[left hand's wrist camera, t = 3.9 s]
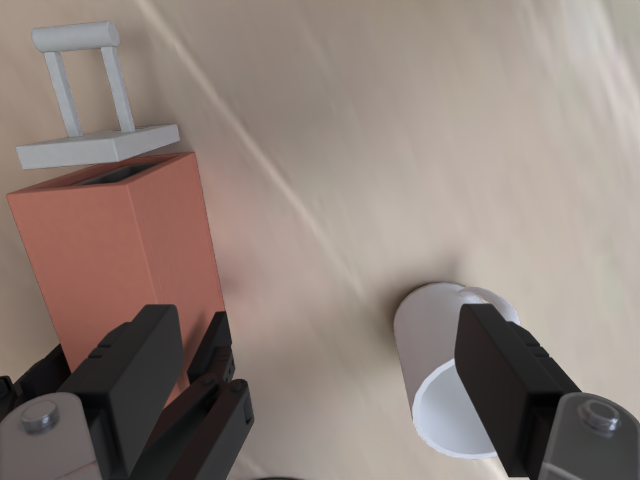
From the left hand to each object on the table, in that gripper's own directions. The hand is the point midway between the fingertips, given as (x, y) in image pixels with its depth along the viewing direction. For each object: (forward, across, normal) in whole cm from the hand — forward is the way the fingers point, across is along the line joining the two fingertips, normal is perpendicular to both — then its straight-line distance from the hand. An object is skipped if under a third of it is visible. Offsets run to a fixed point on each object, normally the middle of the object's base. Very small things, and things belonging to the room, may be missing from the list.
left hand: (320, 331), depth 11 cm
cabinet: (+21, -12, -6) cm, 25 cm away
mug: (+21, +11, -12) cm, 26 cm away
